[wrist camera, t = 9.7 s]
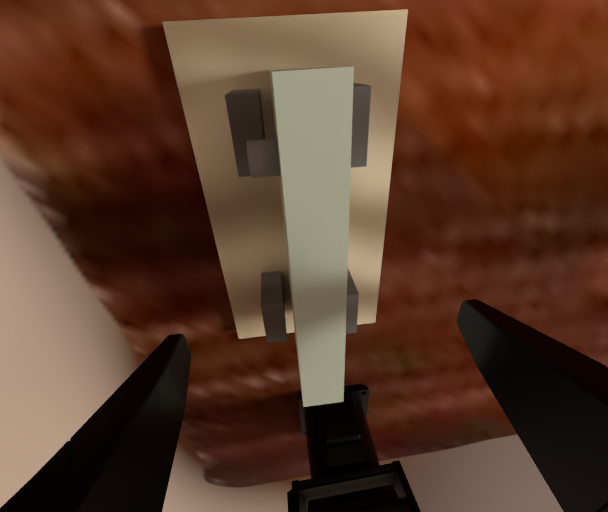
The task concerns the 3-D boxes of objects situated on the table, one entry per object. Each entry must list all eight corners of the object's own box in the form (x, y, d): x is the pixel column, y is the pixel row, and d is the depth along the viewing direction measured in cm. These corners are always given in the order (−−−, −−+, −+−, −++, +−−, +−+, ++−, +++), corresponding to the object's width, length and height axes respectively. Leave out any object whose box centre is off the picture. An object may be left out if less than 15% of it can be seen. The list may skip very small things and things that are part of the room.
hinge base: (371, 313, 23) (389, 355, 20) (239, 328, 22) (235, 374, 19) (398, 13, 13) (444, -6, 10) (169, 24, 13) (134, 8, 9)
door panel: (321, 306, 21) (343, 401, 15) (277, 311, 20) (283, 409, 15) (314, 67, 13) (354, 66, 7) (245, 71, 13) (229, 74, 7)
